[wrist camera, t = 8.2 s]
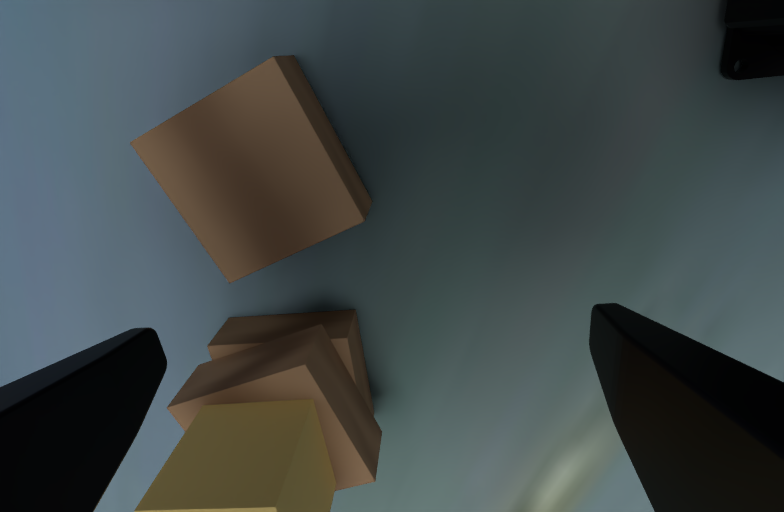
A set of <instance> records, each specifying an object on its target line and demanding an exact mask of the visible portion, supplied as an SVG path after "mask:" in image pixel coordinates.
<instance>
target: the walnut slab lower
mask: <svg viewBox="0 0 784 512" xmlns="http://www.w3.org/2000/svg"><path fill="white" fill-rule="evenodd" d="M320 324H322V326H323V327H324V329H325V331H326V333H327V334H328V336H329V338H330V340H331V342H332V343H333V345H334V347H335V349H336V351H337V352H338V354H339V356H340V358H341V359H342V361H343V363H344V365H345V367H346V368H347V370H348V372H349V374H350V375H351V377H352V379H353V381H354V383H355V384H356V386H357V388H358V390H359V392H360V393H361V395H362V397H363V399H364V400H365V402H366V404H367V406H368V408H369V409H370V411H371V413H372V415H373V416H374V409H373V403H372V398H371V392H370V386H369V381H368V375H367V370H366V364H365V359H364V353H363V347H362V342H361V336H360V331H359V325H358V319H357V314H356V309H355V310H340V311H325V312H309V313H294V314H279V315H263V316H248V317H233V318H228V320H227V321H226V322H225V323H224V325H223V326H222V327H221V329H220V330H219V331H218V333H217V334H216V335H215V337H214V338H213V339H212V340H211V342H210V343H209V344H208V346H207V347H208V349H209V352H210V355H211V358H212V360H215V359H218V358H221V357H224V356H227V355H230V354H233V353H236V352H239V351H242V350H245V349H248V348H251V347H254V346H257V345H260V344H263V343H266V342H269V341H272V340H275V339H278V338H281V337H284V336H287V335H290V334H293V333H296V332H299V331H302V330H305V329H308V328H311V327H314V326H317V325H320Z"/></svg>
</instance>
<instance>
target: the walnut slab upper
mask: <svg viewBox="0 0 784 512" xmlns="http://www.w3.org/2000/svg"><path fill="white" fill-rule="evenodd" d="M302 399H313V400H314V404H315V408H316V411H317V415H318V418H319V422H320V426H321V429H322V433H323V437H324V440H325V444H326V447H327V451H328V455H329V458H330V462H331V465H332V469H333V473H334V476H335V480H336V487H335V491H337V490H341V489H345V488H350V487H354V486H358V485H362V484H367V483H371V482H375V480H376V472H377V465H378V458H379V450H380V443H381V436H382V431H381V429H380V427H379V425H378V424H377V422H376V420H375V418H374V416H373V415H372V413H371V411H370V409H369V408H368V406H367V404H366V402H365V400H364V399H363V397H362V395H361V393H360V392H359V390H358V388H357V386H356V384H355V383H354V381H353V379H352V377H351V375H350V374H349V372H348V370H347V368H346V367H345V365H344V363H343V361H342V359H341V358H340V356H339V354H338V352H337V351H336V349H335V347H334V345H333V343H332V342H331V340H330V338H329V336H328V334H327V333H326V331H325V329H324V327H323V326H322V324H320V325H317V326H314V327H311V328H308V329H305V330H302V331H299V332H296V333H293V334H290V335H287V336H284V337H281V338H278V339H275V340H272V341H269V342H266V343H263V344H260V345H257V346H254V347H251V348H248V349H245V350H242V351H239V352H236V353H233V354H230V355H227V356H224V357H221V358H218V359H215V360H212V361H209V362H206V363H203V364H200V365H198V366H197V368H196V369H195V371H194V372H193V373H192V375H191V376H190V377H189V379H188V380H187V381H186V383H185V384H184V385H183V387H182V388H181V389H180V391H179V392H178V393H177V395H176V396H175V397H174V399H173V400H172V401H171V403H170V404H169V405H168V407H167V409H168V410H169V411H170V413H171V414H172V415H173V416H174V418H175V419H176V420H177V422H178V423H179V424H180V426H181V427H182V428H183V429H184V431H185V432H186V430H187V429H188V427H189V426H190V424H191V423H192V421H193V420H194V418H195V417H196V415H197V414H198V412H199V410H200V409H201V407H202V406H203V405H219V404H236V403H252V402H269V401H286V400H302Z"/></svg>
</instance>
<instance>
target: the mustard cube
mask: <svg viewBox="0 0 784 512" xmlns="http://www.w3.org/2000/svg"><path fill="white" fill-rule="evenodd" d="M335 487H336V480H335V476H334V473H333V469H332V465H331V462H330V458H329V455H328V451H327V447H326V444H325V440H324V437H323V433H322V429H321V426H320V422H319V418H318V415H317V411H316V408H315V404H314V400H313V399H302V400H286V401H269V402H252V403H236V404H219V405H203V406H202V407H201V409H200V410H199V412H198V414H197V415H196V417H195V418H194V420H193V421H192V423H191V424H190V426H189V427H188V429H187V430H186V432H185V434H184V435H183V437H182V438H181V440H180V441H179V443H178V444H177V446H176V447H175V449H174V451H173V452H172V454H171V455H170V457H169V458H168V460H167V461H166V463H165V464H164V466H163V467H162V469H161V471H160V472H159V474H158V475H157V477H156V478H155V480H154V481H153V483H152V484H151V486H150V487H149V489H148V491H147V492H146V494H145V495H144V497H143V498H142V500H141V501H140V503H139V504H138V506H137V508H136V509H135V512H330V509H331V504H332V500H333V496H334V491H335Z"/></svg>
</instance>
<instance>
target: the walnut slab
mask: <svg viewBox="0 0 784 512" xmlns="http://www.w3.org/2000/svg"><path fill="white" fill-rule="evenodd" d="M130 144H131V145H132V147H133V148H134V149H135V151H136V152H137V154H138V155H139V156H140V158H141V159H142V161H143V162H144V164H145V165H146V166H147V168H148V169H149V171H150V172H151V173H152V175H153V176H154V178H155V179H156V180H157V182H158V183H159V185H160V186H161V187H162V189H163V190H164V192H165V193H166V194H167V196H168V197H169V199H170V200H171V202H172V203H173V204H174V206H175V207H176V209H177V210H178V211H179V213H180V214H181V216H182V217H183V218H184V220H185V221H186V223H187V224H188V225H189V227H190V228H191V230H192V231H193V233H194V234H195V235H196V237H197V238H198V240H199V241H200V242H201V244H202V245H203V247H204V248H205V249H206V251H207V252H208V254H209V255H210V256H211V258H212V259H213V261H214V262H215V264H216V265H217V266H218V268H219V269H220V271H221V272H222V273H223V275H224V276H225V278H226V279H227V280H228V282H229V283H231V282H234V281H236V280H238V279H240V278H242V277H245V276H247V275H249V274H251V273H253V272H255V271H258V270H260V269H262V268H264V267H266V266H269V265H271V264H273V263H275V262H277V261H279V260H282V259H284V258H286V257H288V256H290V255H292V254H295V253H297V252H299V251H301V250H303V249H306V248H308V247H310V246H312V245H314V244H316V243H319V242H321V241H323V240H325V239H327V238H329V237H332V236H334V235H336V234H338V233H340V232H343V231H345V230H347V229H349V228H351V227H353V226H356V225H358V224H360V223H362V222H364V221H365V219H366V217H367V214H368V212H369V209H370V206H371V204H372V200H371V198H370V196H369V194H368V192H367V191H366V189H365V187H364V185H363V183H362V181H361V179H360V178H359V176H358V174H357V172H356V170H355V168H354V166H353V164H352V163H351V161H350V159H349V157H348V155H347V153H346V151H345V150H344V148H343V146H342V144H341V142H340V140H339V138H338V137H337V135H336V133H335V131H334V129H333V127H332V125H331V124H330V122H329V120H328V118H327V116H326V114H325V112H324V111H323V109H322V107H321V105H320V103H319V101H318V99H317V98H316V96H315V94H314V92H313V90H312V88H311V86H310V84H309V83H308V81H307V79H306V77H305V75H304V73H303V71H302V70H301V68H300V66H299V64H298V62H297V60H296V58H295V57H294V55H290V56H273V57H272V58H270V59H268V60H267V61H265V62H263V63H262V64H260V65H258V66H257V67H255V68H253V69H252V70H250V71H248V72H247V73H245V74H243V75H242V76H240V77H238V78H237V79H235V80H233V81H232V82H230V83H228V84H227V85H225V86H223V87H222V88H220V89H218V90H217V91H215V92H213V93H212V94H210V95H208V96H207V97H205V98H203V99H202V100H200V101H198V102H197V103H195V104H193V105H192V106H190V107H188V108H187V109H185V110H183V111H182V112H180V113H178V114H177V115H175V116H173V117H172V118H170V119H168V120H167V121H165V122H163V123H162V124H160V125H158V126H157V127H155V128H153V129H152V130H150V131H148V132H147V133H145V134H143V135H142V136H140V137H138V138H137V139H135V140H133V141H132V142H130Z"/></svg>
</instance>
